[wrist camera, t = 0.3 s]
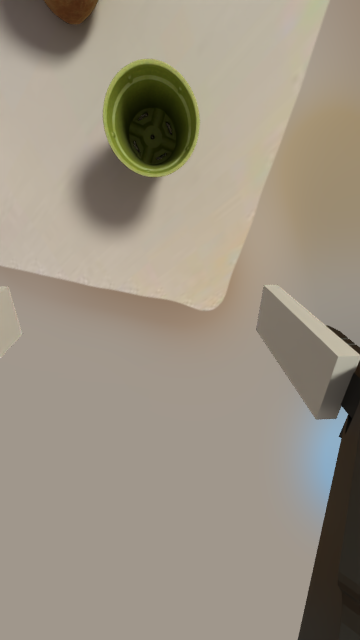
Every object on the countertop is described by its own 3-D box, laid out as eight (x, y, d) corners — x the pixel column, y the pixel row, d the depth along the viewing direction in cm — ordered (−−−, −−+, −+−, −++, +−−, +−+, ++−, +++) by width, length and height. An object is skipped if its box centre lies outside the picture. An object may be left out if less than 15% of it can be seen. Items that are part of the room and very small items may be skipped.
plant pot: (167, 71, 31) (170, 33, 23) (202, 155, 35) (214, 147, 27) (100, 117, 32) (82, 95, 25) (141, 192, 36) (136, 194, 29)
